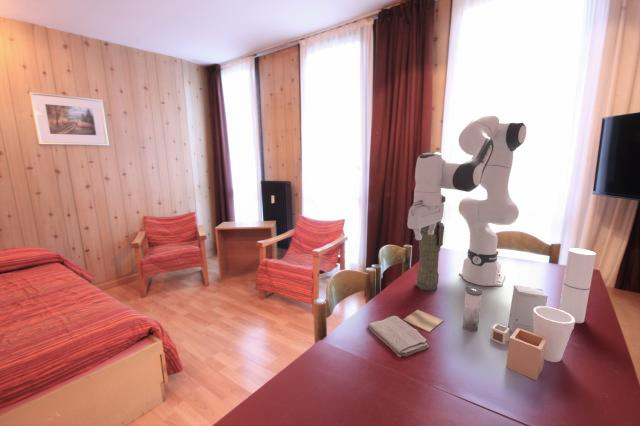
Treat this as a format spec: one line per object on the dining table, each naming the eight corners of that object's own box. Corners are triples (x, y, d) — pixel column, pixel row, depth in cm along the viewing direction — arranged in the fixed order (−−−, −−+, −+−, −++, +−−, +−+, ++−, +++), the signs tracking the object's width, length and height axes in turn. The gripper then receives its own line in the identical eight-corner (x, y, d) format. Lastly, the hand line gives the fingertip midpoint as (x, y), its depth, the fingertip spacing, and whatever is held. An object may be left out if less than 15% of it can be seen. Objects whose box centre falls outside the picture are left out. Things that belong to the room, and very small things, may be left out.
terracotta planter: (513, 355, 86) (517, 327, 85) (543, 367, 81) (547, 338, 80) (506, 366, 82) (509, 337, 80) (536, 380, 77) (541, 349, 75)
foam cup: (575, 368, 81) (583, 325, 79) (537, 363, 83) (544, 321, 80) (555, 346, 90) (562, 307, 88) (522, 343, 92) (527, 304, 90)
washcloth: (400, 360, 85) (401, 351, 85) (365, 328, 101) (366, 320, 101) (431, 349, 90) (432, 340, 90) (393, 320, 106) (393, 312, 106)
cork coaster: (417, 310, 112) (417, 309, 112) (443, 321, 104) (443, 320, 104) (403, 320, 105) (403, 319, 105) (429, 332, 98) (429, 331, 98)
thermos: (433, 294, 125) (439, 213, 118) (410, 285, 134) (414, 209, 127) (444, 288, 130) (450, 210, 124) (421, 279, 139) (425, 207, 133)
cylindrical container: (557, 317, 106) (567, 251, 101) (559, 310, 111) (569, 247, 106) (583, 325, 101) (596, 256, 96) (584, 317, 106) (596, 251, 102)
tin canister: (465, 321, 104) (469, 284, 101) (480, 327, 100) (484, 289, 98) (459, 327, 101) (463, 289, 98) (474, 333, 97) (478, 294, 94)
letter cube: (494, 334, 97) (495, 322, 96) (508, 339, 94) (510, 328, 93) (489, 339, 94) (491, 327, 93) (504, 345, 91) (505, 333, 90)
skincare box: (511, 333, 97) (516, 291, 94) (507, 323, 103) (512, 284, 100) (542, 338, 94) (548, 295, 91) (536, 328, 100) (542, 287, 97)
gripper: (421, 203, 94) (418, 244, 97) (447, 197, 108) (445, 233, 111) (403, 201, 99) (401, 241, 101) (431, 195, 113) (429, 230, 115)
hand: (424, 237), depth 106 cm, fingers open, 8 cm apart
